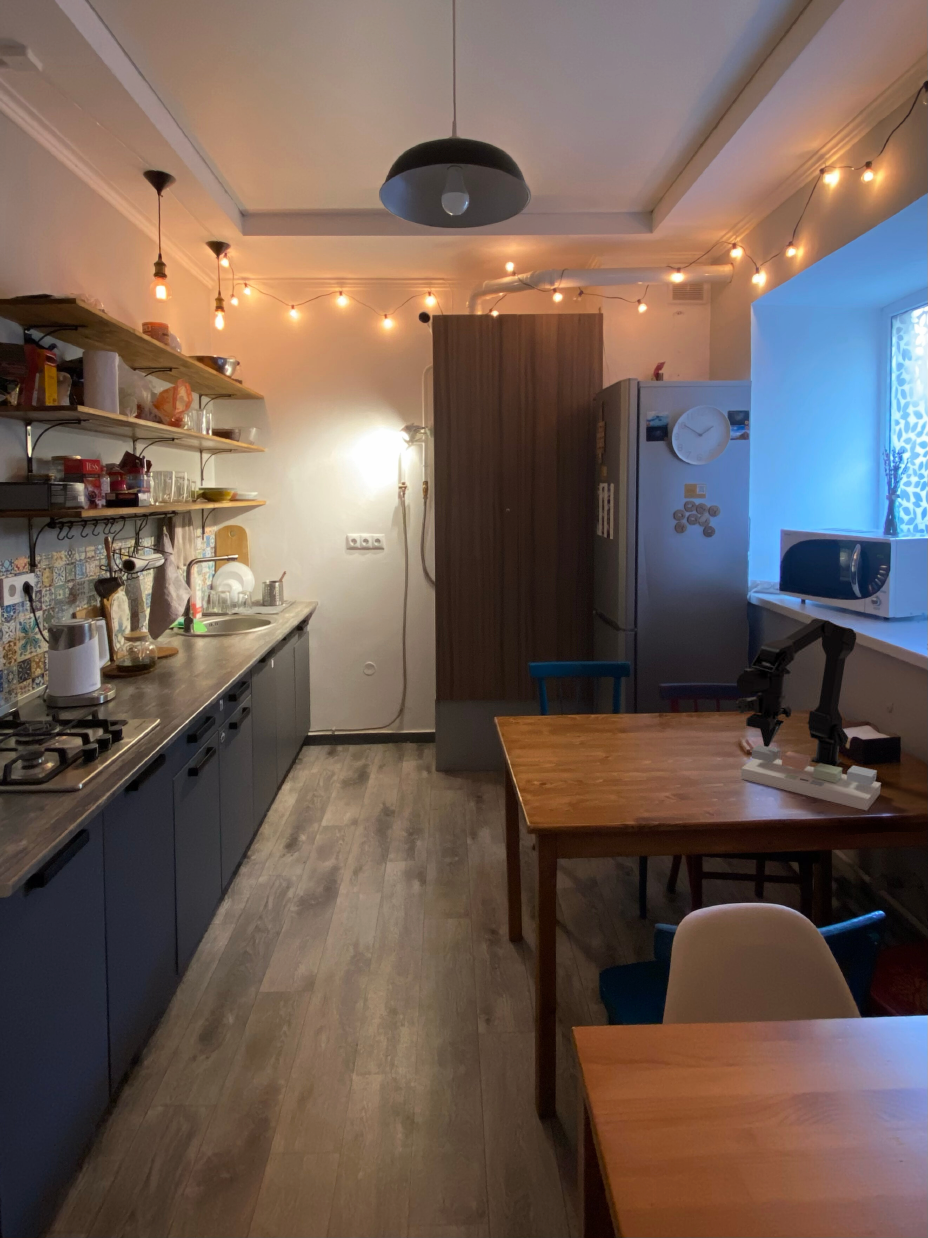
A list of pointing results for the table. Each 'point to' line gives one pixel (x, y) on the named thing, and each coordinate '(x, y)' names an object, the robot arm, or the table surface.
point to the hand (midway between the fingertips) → (766, 746)
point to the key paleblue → (861, 775)
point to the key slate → (765, 753)
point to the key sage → (827, 772)
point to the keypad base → (811, 783)
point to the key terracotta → (796, 760)
